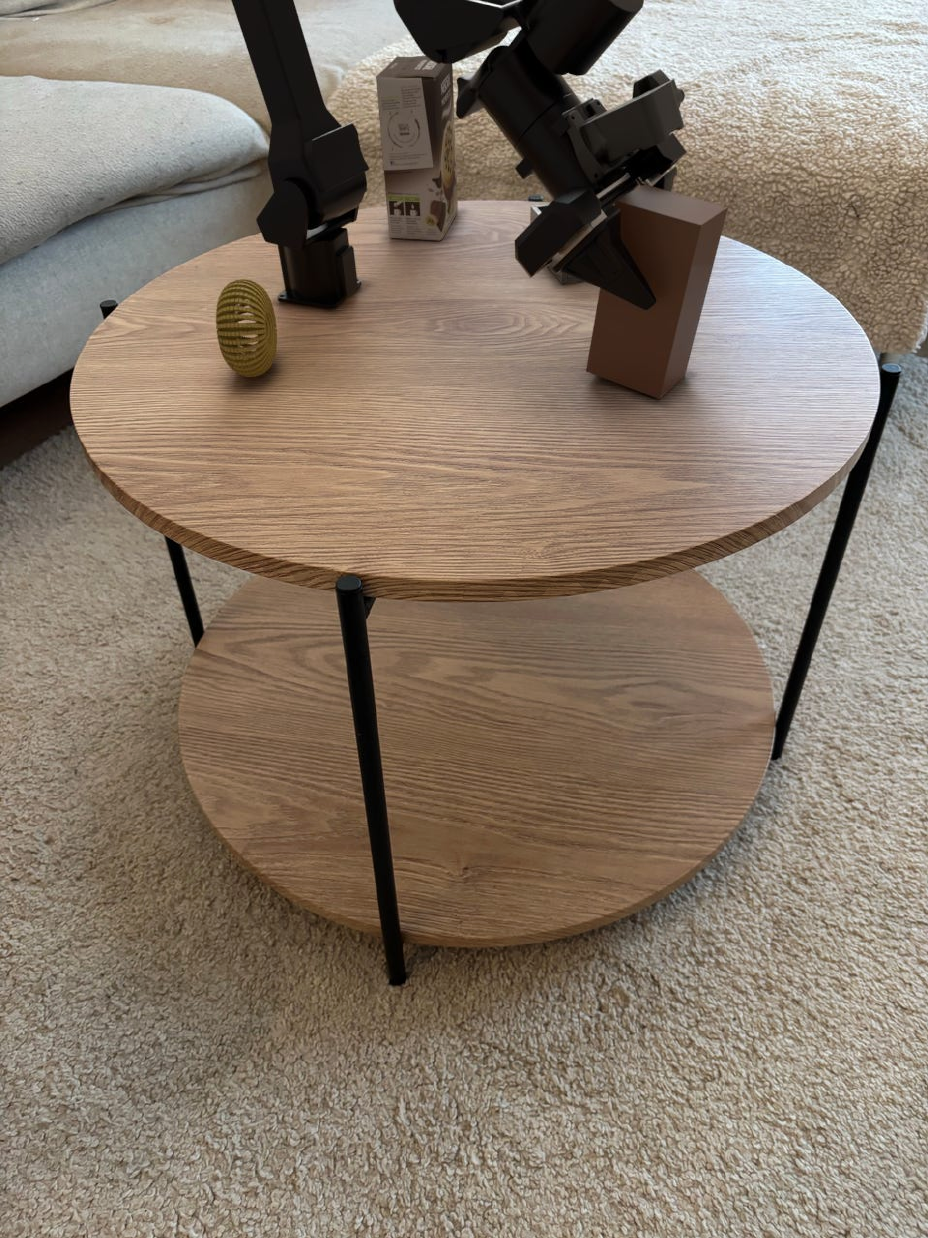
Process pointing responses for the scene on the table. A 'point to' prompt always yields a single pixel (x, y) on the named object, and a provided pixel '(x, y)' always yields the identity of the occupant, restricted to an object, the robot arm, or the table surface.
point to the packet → (657, 290)
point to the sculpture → (246, 328)
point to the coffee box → (418, 147)
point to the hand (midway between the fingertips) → (669, 290)
